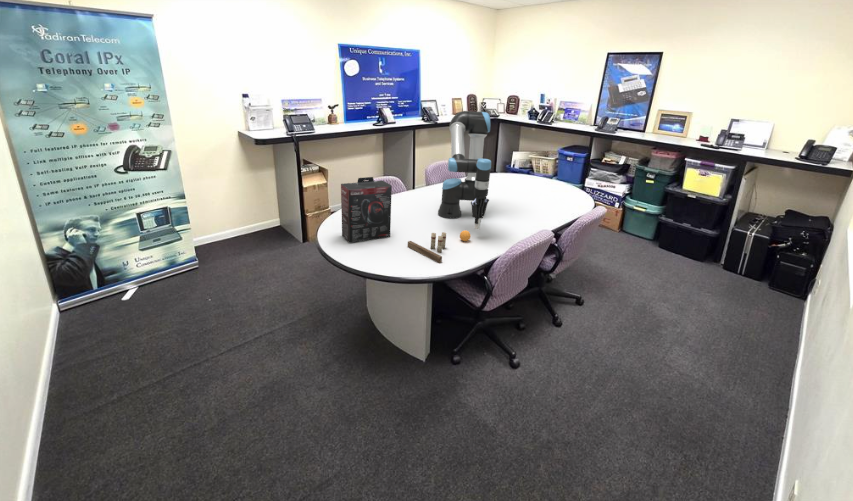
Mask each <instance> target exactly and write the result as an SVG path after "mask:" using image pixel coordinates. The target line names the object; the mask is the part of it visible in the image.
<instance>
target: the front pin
mask: <svg viewBox="0 0 853 501" xmlns="http://www.w3.org/2000/svg"><path fill="white" fill-rule="evenodd" d="M440 236H443V242H442V250H444V249H446V244H447V243H446V240H447V233H446V232H445V231H444V232H443V231H442V232H441V235H440Z"/></svg>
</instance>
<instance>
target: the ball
mask: <svg viewBox="0 0 853 501" xmlns="http://www.w3.org/2000/svg"><path fill="white" fill-rule="evenodd" d="M471 236H472V235H471V233H470V231H468V230H466V229H465V230H462V231H461V232H460V233H459V238H460V240H461V241H463V242H468V241H469V240H470V239H471Z"/></svg>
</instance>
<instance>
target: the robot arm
mask: <svg viewBox="0 0 853 501" xmlns="http://www.w3.org/2000/svg"><path fill="white" fill-rule="evenodd" d="M448 127H449V128H448V130H449V132H450V137H451V138H450V139H451V141H450V142H451V145H450V146H451V148H450V149H451V155H450V156H451V157H449V158H448V163H447V170H448V172H451V173H465V174H466V173H467V176H466V177H465V178H464V181H462V179H461V178H457V177H456V178H454V177H453V178H447V179H445V180H444V181H443V182H442V188H441V189H442V190H441V191H442V192H441V201H440V205H439V208H438V210H437V216H439V217H441V218H445V219H458V218H461V216H462V210H461V206H460V203H461V202H460V201H471V202H470V205H471V214H472V218H474V229H476V230H477V231H478V230H481V222H482V219H483V218H484V217H485V215H486V210H487V207H488V204H489V201H490V199H489V198H487V196H488V195H489V188H490V186H489V184H490V177H491V170H492V169H491V168H492V160H491V159H488V158H483V157H484V146H485V138H486V137H487V136H488V133H490V132H491V116H490V114H489V113H488V112H485V111H474V110H473V111H471V110H469V111H468V110H462V111H459V112H457V113H456V114H454V115H453V117H452V118H451V120H450V123H449V126H448ZM465 132H467V134H468V135H467V136H469V137H470V139H469V152H468V158H466V153H465V152H466V151H465Z"/></svg>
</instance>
